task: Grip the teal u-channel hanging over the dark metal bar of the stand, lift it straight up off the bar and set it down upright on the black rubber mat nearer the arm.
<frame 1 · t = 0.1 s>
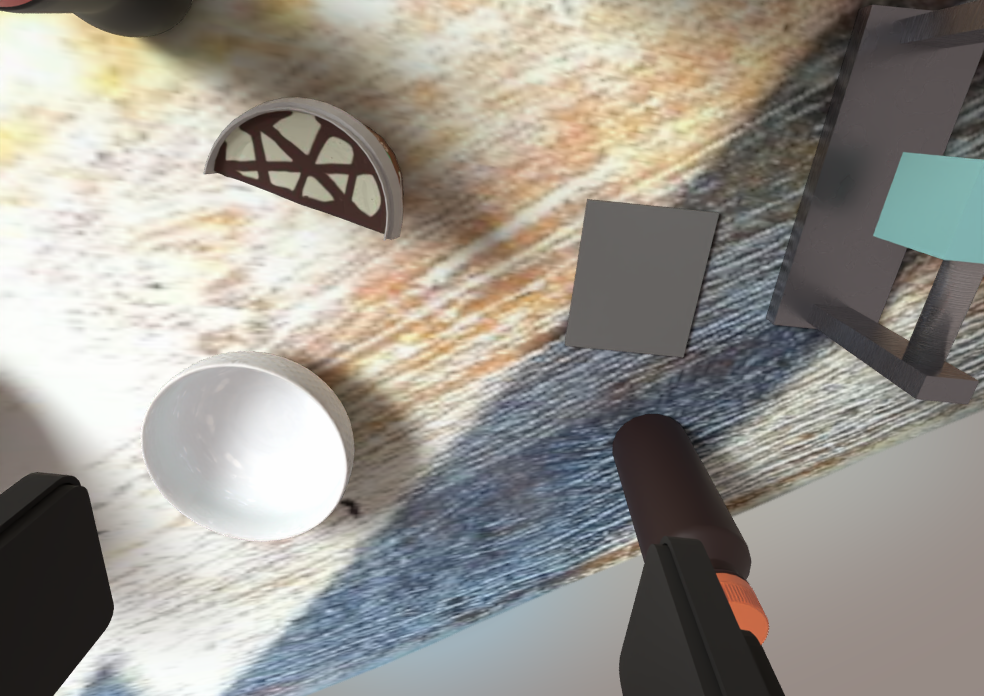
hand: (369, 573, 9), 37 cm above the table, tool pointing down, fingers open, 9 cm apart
stand: (861, 184, 41), on the table
food container: (353, 147, 42), on the table
teal u-channel: (936, 200, 34), point 8 cm above the table, touching stand
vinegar: (648, 443, 51), on the table
mat: (637, 281, 45), on the table
cereal bowl: (278, 415, 51), on the table
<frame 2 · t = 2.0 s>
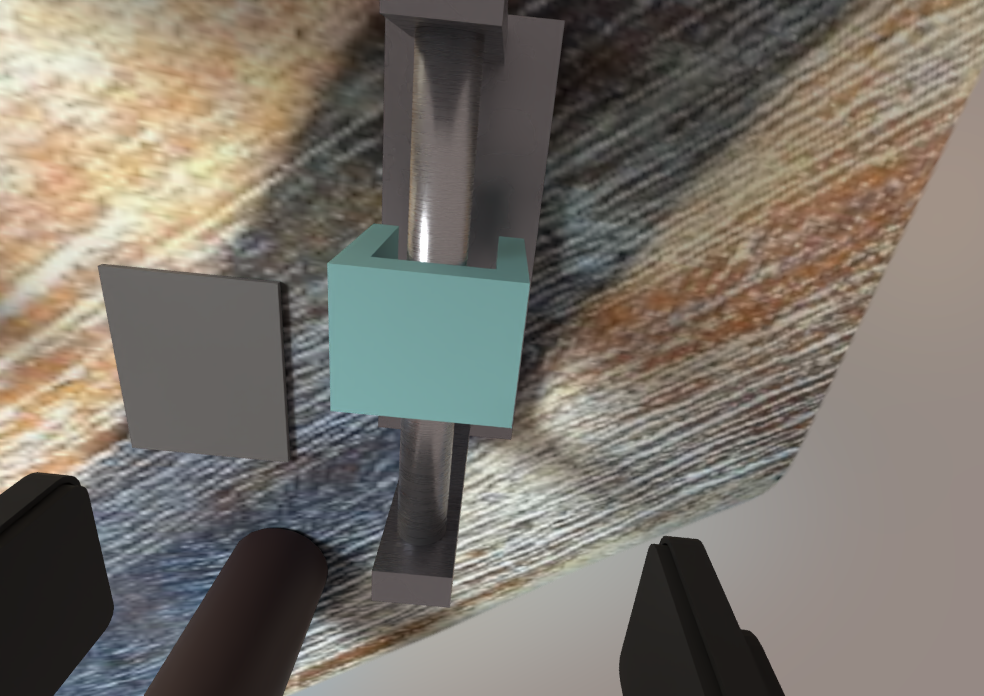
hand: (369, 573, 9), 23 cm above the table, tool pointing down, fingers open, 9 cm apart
stand: (460, 247, 30), on the table
teal u-channel: (445, 291, 23), point 8 cm above the table, touching stand
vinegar: (283, 560, 40), on the table
mat: (203, 368, 34), on the table
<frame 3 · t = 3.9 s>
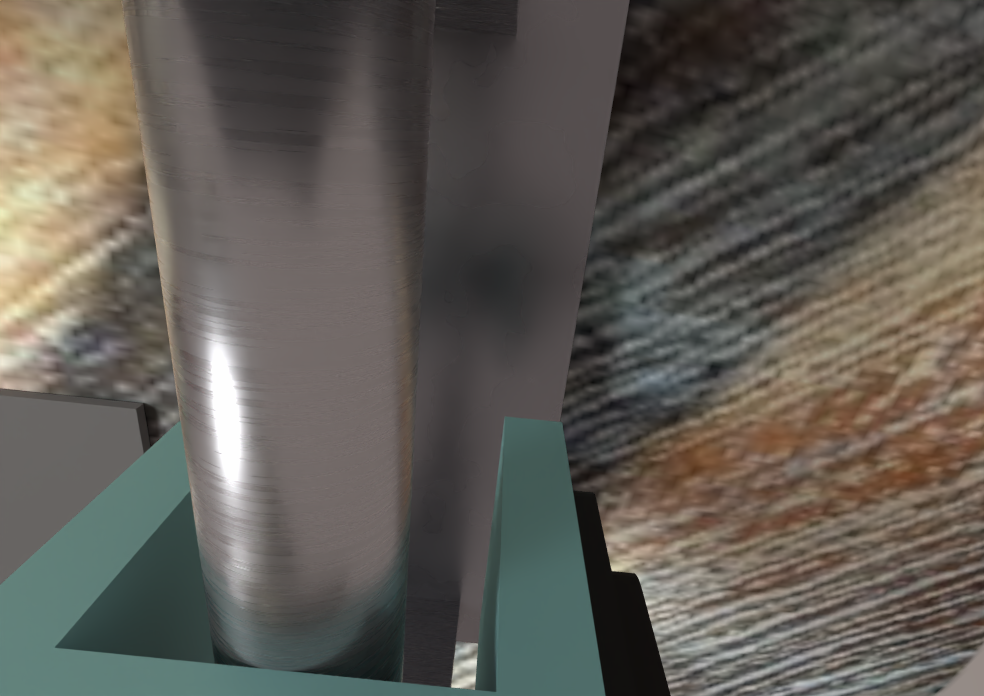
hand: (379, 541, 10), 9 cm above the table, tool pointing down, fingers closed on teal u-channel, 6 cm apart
stand: (438, 353, 18), on the table
teal u-channel: (386, 519, 11), point 8 cm above the table, touching gripper, stand
mat: (36, 527, 21), on the table
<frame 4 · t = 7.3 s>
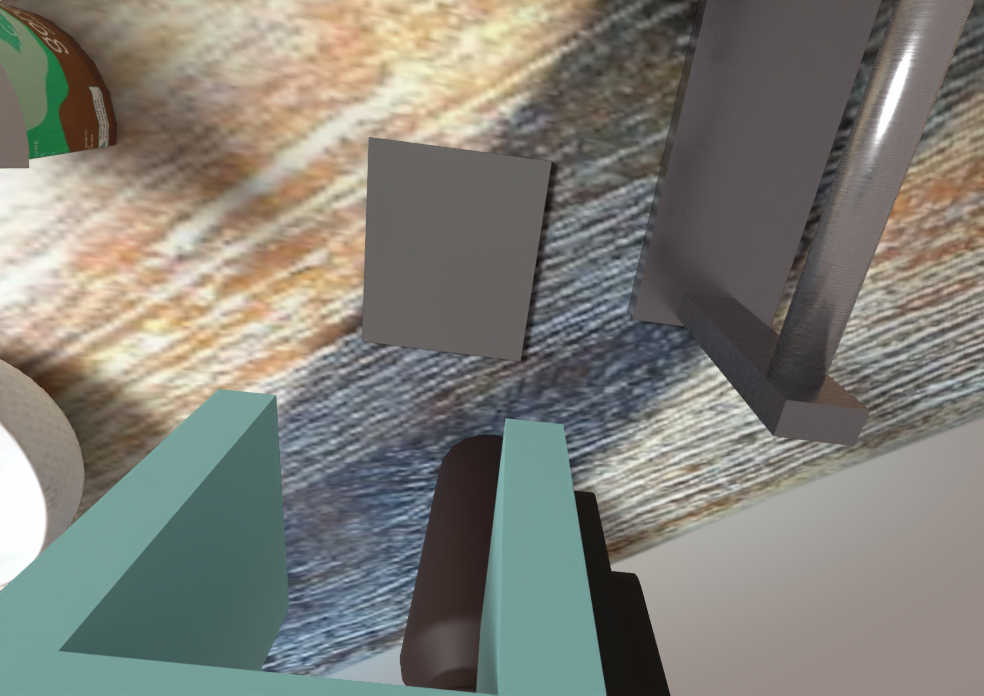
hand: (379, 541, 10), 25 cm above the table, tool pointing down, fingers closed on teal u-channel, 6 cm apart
stand: (746, 126, 30), on the table
food container: (37, 53, 30), on the table
teal u-channel: (387, 521, 11), point 24 cm above the table, touching gripper
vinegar: (488, 472, 39), on the table
mat: (451, 256, 33), on the table
cereal bowl: (4, 423, 39), on the table
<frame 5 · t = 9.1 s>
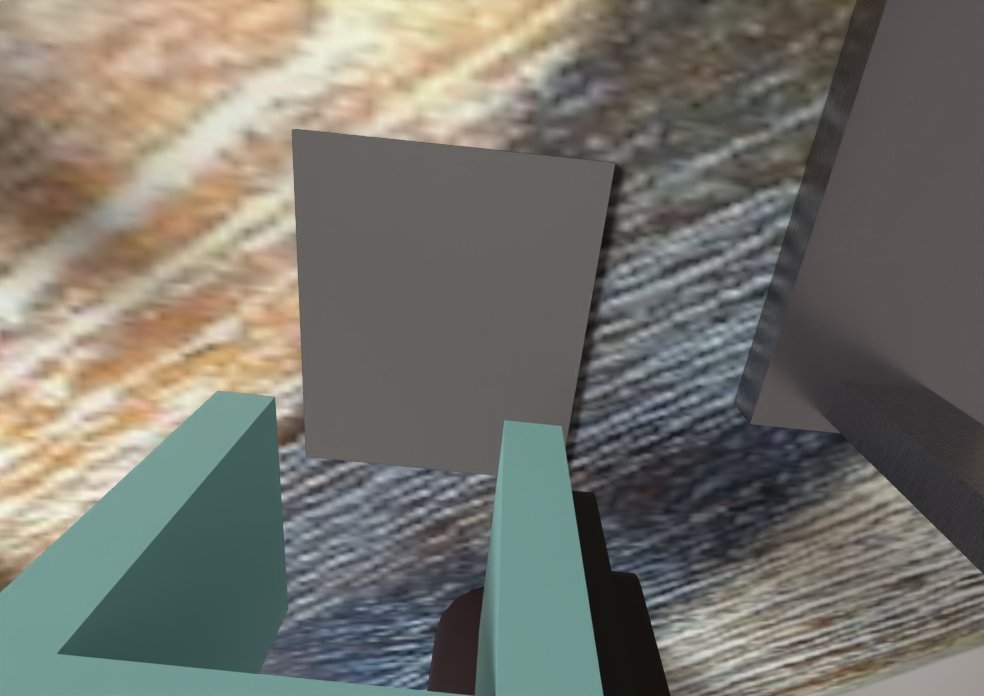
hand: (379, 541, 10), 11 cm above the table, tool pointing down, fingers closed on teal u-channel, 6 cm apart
stand: (968, 90, 16), on the table
teal u-channel: (386, 523, 11), point 10 cm above the table, touching gripper
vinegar: (509, 629, 26), on the table
mat: (443, 323, 20), on the table
when the fingers open (4 cm above the table, at t = 10.7 s): teal u-channel drops 3 cm, resting on mat.
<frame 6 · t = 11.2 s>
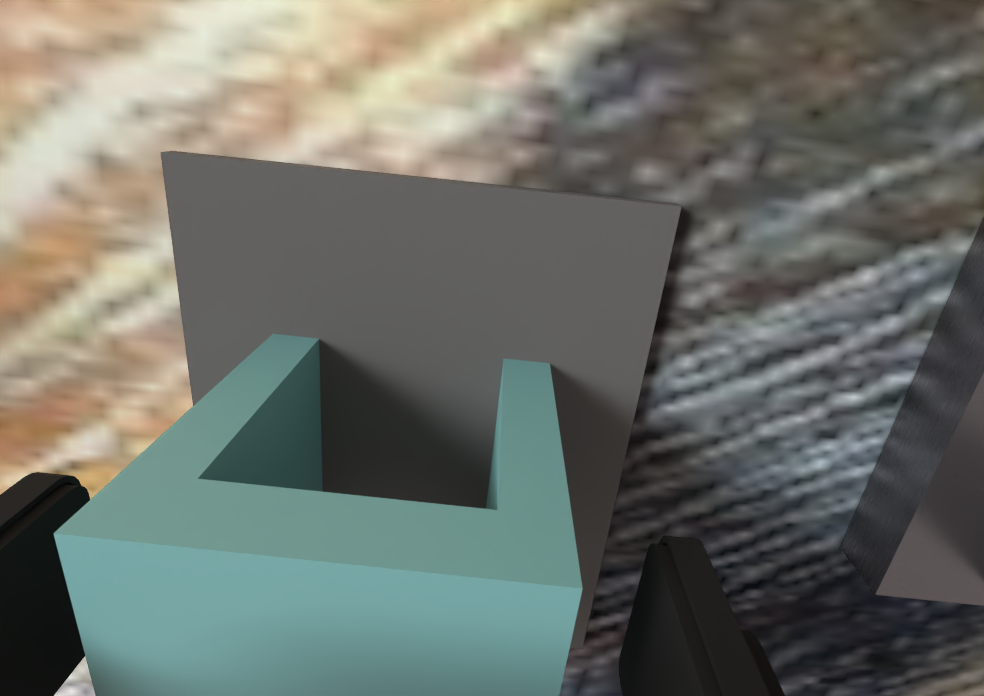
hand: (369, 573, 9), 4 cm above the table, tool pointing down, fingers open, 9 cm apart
teal u-channel: (406, 446, 13), resting on mat
mat: (412, 436, 13), on the table
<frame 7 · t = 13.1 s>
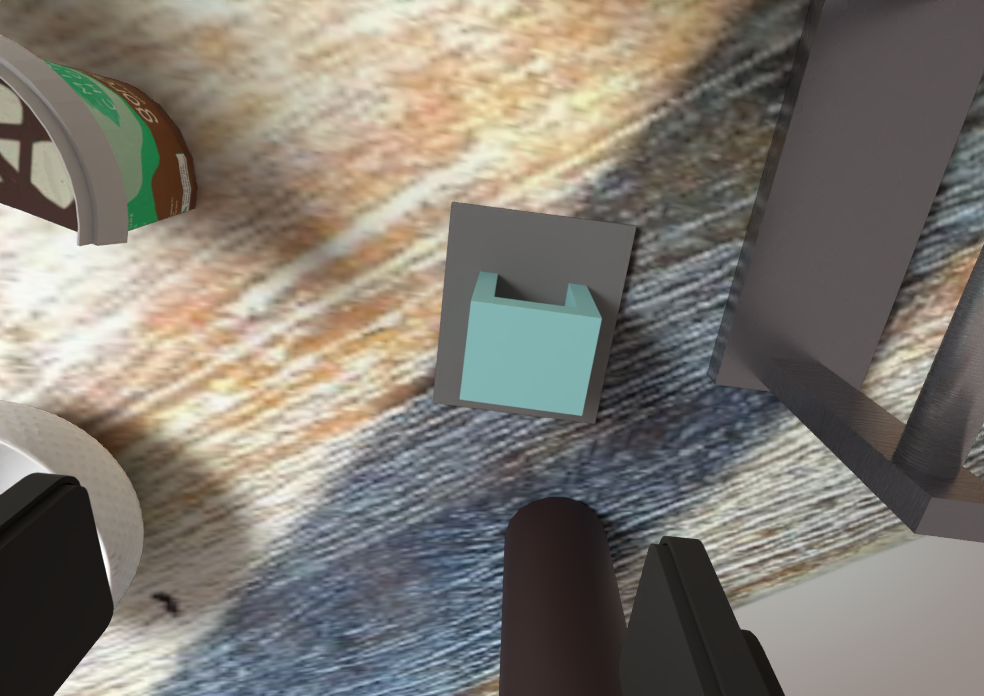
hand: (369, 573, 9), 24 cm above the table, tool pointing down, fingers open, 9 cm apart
stand: (836, 192, 29), on the table
food container: (123, 119, 30), on the table
teal u-channel: (526, 320, 32), resting on mat
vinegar: (554, 534, 38), on the table
mat: (527, 318, 32), on the table
cereal bowl: (61, 481, 38), on the table
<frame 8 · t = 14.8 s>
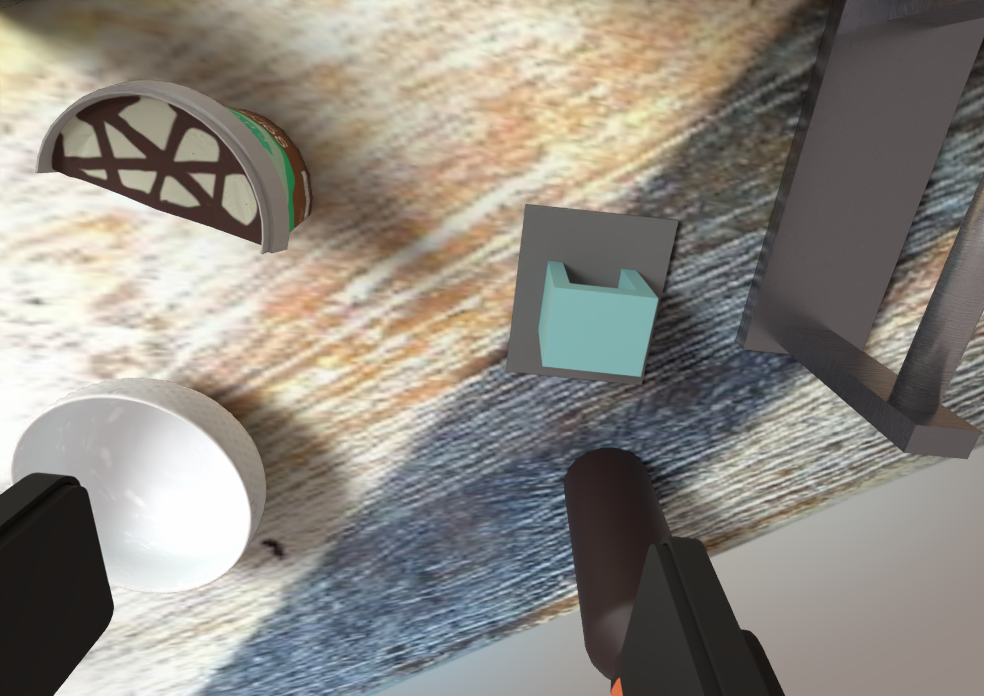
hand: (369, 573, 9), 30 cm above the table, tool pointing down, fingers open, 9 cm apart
stand: (843, 188, 35), on the table
food container: (251, 143, 36), on the table
teal u-channel: (586, 300, 39), resting on mat
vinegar: (605, 479, 45), on the table
mat: (586, 298, 39), on the table
cereal bowl: (187, 447, 45), on the table
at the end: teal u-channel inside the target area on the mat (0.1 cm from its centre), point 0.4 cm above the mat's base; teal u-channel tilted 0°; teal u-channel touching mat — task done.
